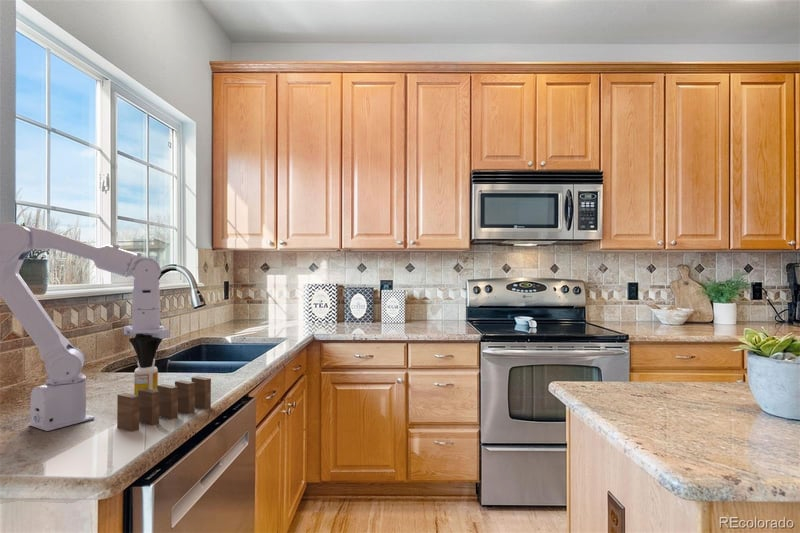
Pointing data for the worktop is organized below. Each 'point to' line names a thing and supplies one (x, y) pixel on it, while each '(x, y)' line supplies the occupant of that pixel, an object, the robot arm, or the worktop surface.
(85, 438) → the worktop surface
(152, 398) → the domino
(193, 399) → the domino
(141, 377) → the supplement bottle
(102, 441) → the worktop surface
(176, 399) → the domino
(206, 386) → the domino
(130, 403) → the domino
